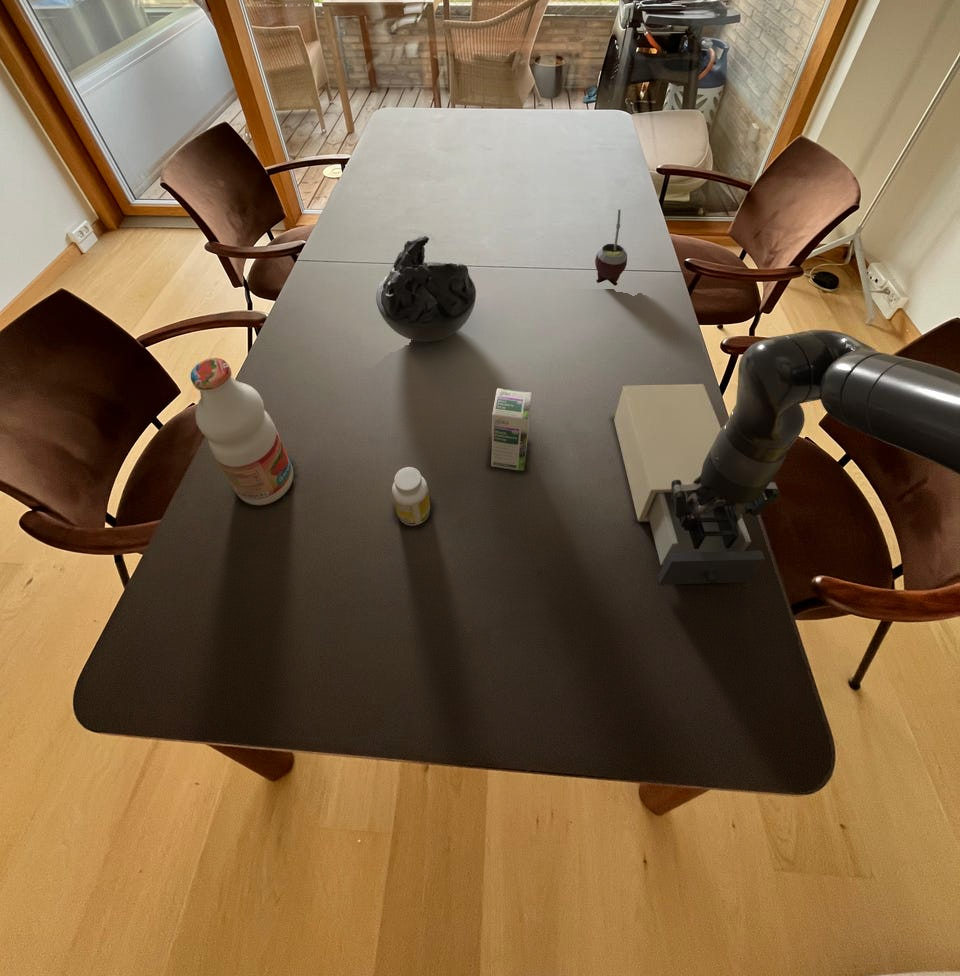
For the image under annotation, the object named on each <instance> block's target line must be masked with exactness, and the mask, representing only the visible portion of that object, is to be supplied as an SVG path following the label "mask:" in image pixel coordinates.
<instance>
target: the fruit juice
mask: <svg viewBox="0 0 960 976" xmlns="http://www.w3.org/2000/svg"><path fill="white" fill-rule="evenodd" d="M190 380H191V381H190V382H191V383H192V385H193V386H194V388H195V389H196V390H198V391H199V393H200V398H199V400H198V403H197V404H196V407H195V413H194V419H195V423H196V425H197V427H198V429H199V431H200V433H201V434H203V436H205V438H206V439H207V444H208V447H209V449H210V451H211V453H212V455H213V457H214V458H215V460H216V462H217V463H218V465H219V466H220V469H221V470H222V472H223V473H224V475H225V476H226V478H227V480H228V481H229V483H230V485H231V487H232V488H233V490H234V492H235V494H236V495H237V496H238V498H239V499H241V500H242V501H243V502H245V503H246V504H248V505H253V506H264V505H268V504H272V503H275V502H276V501H278V500H279V499H280V498H281V497H283V496H284V495H285V494H286V493H287V492H288V491H289V489H290V487H291V486H292V483H293V480H294V468H293V465H292V462H291V460H290V458H289V455H288V453H287V451H286V448H285V447H284V444H283V441H282V440H281V437H280V434H279V432H278V430H277V427H276V425H275V423H274V420H272V417H271V416H270V415H269V413H268V412H267V411H266V410H265V405H264V401H263V399H262V396H261V394H260V393H259V392H258V391H257V390H256V389H255V388H254V387H253V386H251V385H250V384H248V383H244V382H241V381H238V380H236V379H235V378H234V377H233V376H232V368H231V366H230V365H229V364H228V362H227V361H226V360H224V359H222V358H221V357H210V358H206V359H204V360H202V361H200V362H198V363H197V364H196V365H195V366H194V367H193V368H192V370H191V371H190Z"/></svg>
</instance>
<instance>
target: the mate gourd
mask: <svg viewBox="0 0 960 976" xmlns="http://www.w3.org/2000/svg"><path fill="white" fill-rule="evenodd" d="M621 211H622V210H621V209H617V222H616V225H615V228H616V229H615V236H614V237H615V238H614V243H607V244H604V245H602V246H601V247H600V248H599V249H598V251H597V253H596V255H595V260H594V264H595V269H596V271H597V272H596V273H597V279H596V283H597V284H600V283H603V282H605V281H608V282H609V283H611V284H612V285H613V286H618V284H619V283H618V280H619V279H620V276H621V275H622V274H623V273H624V271H625V270H626V267H627V264H628V253H627V251H626V250H625V248H624V247H623V246H622V245H619V244H618V239H619V232H620V229H621V224H620V223H621Z"/></svg>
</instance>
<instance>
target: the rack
mask: <svg viewBox="0 0 960 976" xmlns="http://www.w3.org/2000/svg"><path fill="white" fill-rule="evenodd" d="M693 505H694V508H695V504H693ZM713 512H714V515H715V517H705V518H700V516H698V517H697V520H696V522H695V523H694V525H693V527H692V529H691V530H690V531H689V533H690V537H691V540H692V543H693V547H694V549H699V547H700V545H701V544H702V542H703V541H704V539H705V537H706V536H722V539H723V542H724V545H725V548H730V547H731V546H732V544H733V543H734V541H735V540H736V539H737V537H738V536H739V534H738V531H737V529H736V526H735V523H734V520H733V518H732V515H731V512H730V509H729V507H728V506H718V507H716V508H715V509H714V510H713ZM702 522H717V524H718V527H719V530H720V531H704V527H703V524H702Z"/></svg>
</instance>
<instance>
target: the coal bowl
mask: <svg viewBox="0 0 960 976" xmlns="http://www.w3.org/2000/svg"><path fill="white" fill-rule="evenodd" d="M429 241H430V238H429V236H427V235H420V236H418V237H417V238H413V239H409V240H407V241H406V242H405V243H404V245H403V249H402V250H401V251H400V252H399V253H398V255H397V257H396V259H395V261H394V263H393V265H392V267H391V269H390V272H389V274H387V275H386V276H385V277H384V278H383V279H382V280H381V282H380V283H379V285H378V288H377V290H376V293H375V302H376V306H377V308H378V311H379V313H380V315H381V318H382V319H383V320H384V321H385V323H386V324H387V325H388V326H389V327H390V328H391V329H392V331H394V332H396V334H397V335H400V336H402V337H404V338H406V339H408V340H411V341H415V342H421V343H431V342H437V341H441V340H444V339H446V338H449V337H451V336H453V335H454V334H455V333H457V332H458V331H459V330H460V329H461V328H462V327H463V326H464V325H465V324H466V323H467V321H468V320H469V318H470V316H471V315H472V313H473V310H474V307H475V304H476V299H477V290H476V286H475V283H474V281H473V279H472V278H471V276H470V274H469V269H468V268H469V267H468V266H467V265H465V264H463V263H452V262H448V263H446V262H438V261H425V257H426V256H425V255H426V253H425V252H426V248H425V246H426V244H428V243H429Z"/></svg>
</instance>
